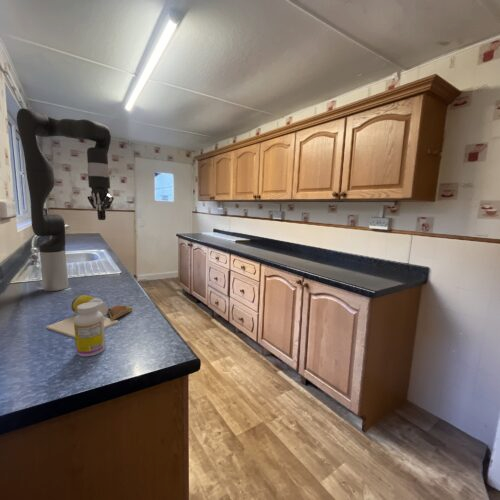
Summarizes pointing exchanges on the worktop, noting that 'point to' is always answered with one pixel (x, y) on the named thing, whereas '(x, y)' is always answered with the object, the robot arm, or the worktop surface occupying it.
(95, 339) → the supplement bottle
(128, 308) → the shard
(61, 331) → the mat
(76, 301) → the pill bottle
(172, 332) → the worktop surface
